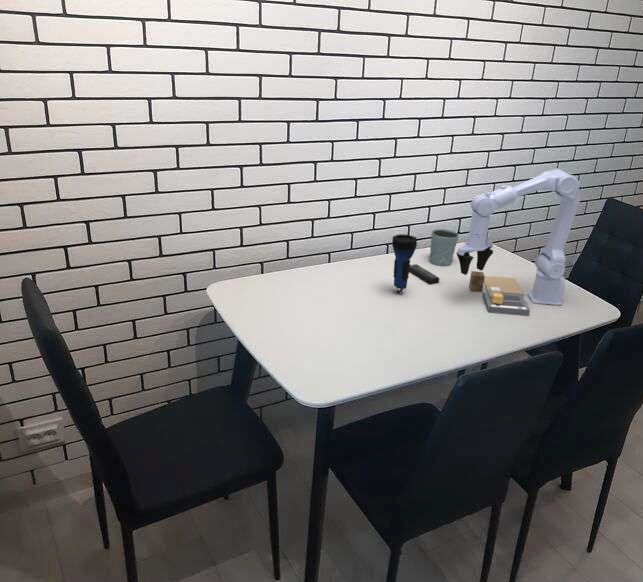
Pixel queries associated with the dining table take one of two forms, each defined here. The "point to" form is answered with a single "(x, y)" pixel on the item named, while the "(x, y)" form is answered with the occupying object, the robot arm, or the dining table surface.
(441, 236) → the green cup
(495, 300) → the switch tab
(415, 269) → the multiport hub
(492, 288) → the switch tab
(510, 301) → the switch panel
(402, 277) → the flashlight
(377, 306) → the dining table surface
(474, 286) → the block
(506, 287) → the mat
